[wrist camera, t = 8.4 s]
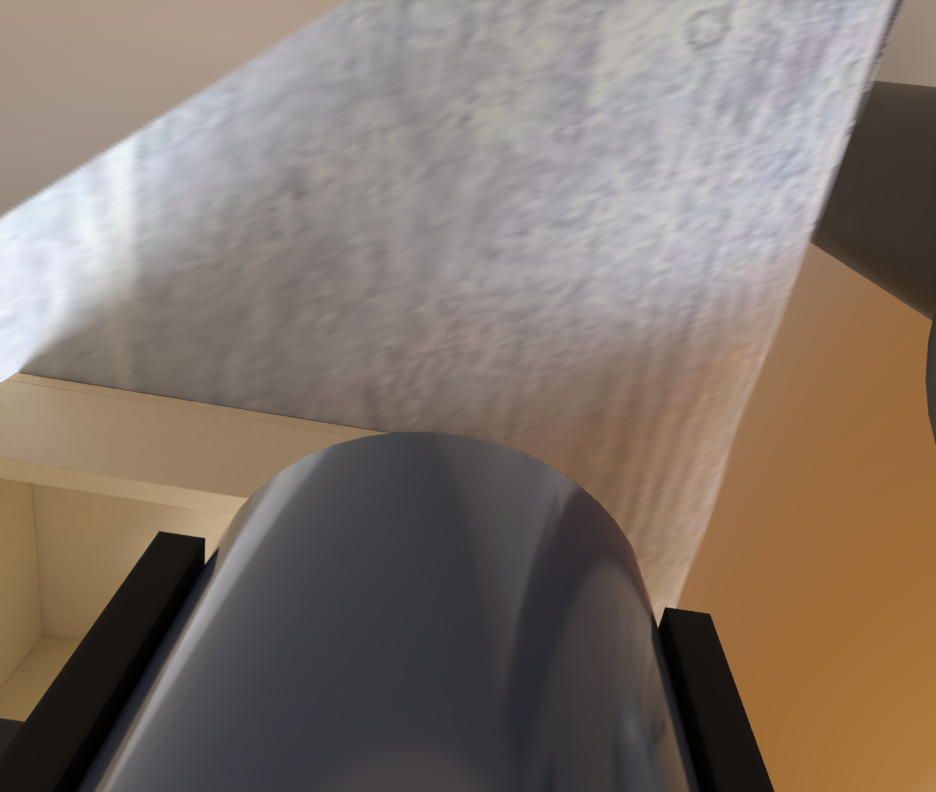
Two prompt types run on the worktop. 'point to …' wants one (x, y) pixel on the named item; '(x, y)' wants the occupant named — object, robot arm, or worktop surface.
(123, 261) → the worktop surface
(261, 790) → the dark grey cylinder
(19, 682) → the cream wooden crate
